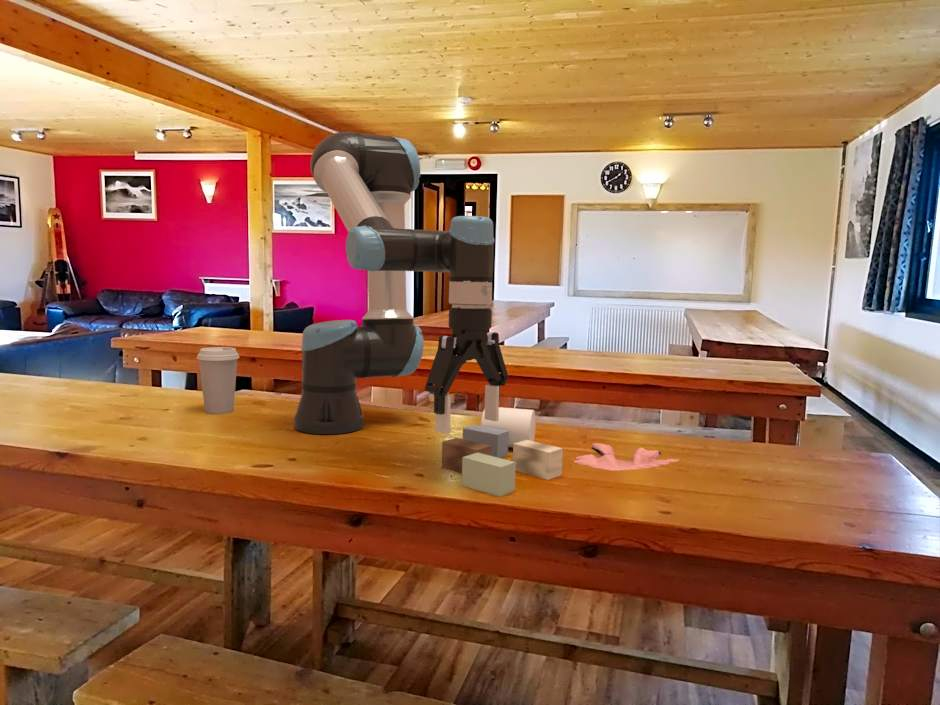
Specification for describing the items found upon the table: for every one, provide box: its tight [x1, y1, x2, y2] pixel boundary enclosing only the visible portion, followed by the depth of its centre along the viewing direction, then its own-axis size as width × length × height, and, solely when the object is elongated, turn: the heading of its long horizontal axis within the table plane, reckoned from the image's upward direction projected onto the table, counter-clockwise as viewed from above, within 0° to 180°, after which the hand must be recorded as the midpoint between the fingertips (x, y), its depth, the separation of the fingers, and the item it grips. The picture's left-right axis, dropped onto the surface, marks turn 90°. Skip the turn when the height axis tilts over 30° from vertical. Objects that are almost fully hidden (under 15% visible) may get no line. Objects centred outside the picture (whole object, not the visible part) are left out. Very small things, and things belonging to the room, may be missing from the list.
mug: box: [480, 406, 537, 449], centre depth 140 cm, size 12×10×8 cm
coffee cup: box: [196, 346, 240, 415], centre depth 162 cm, size 10×10×15 cm
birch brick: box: [512, 440, 564, 481], centre depth 122 cm, size 8×4×5 cm, turn 47°
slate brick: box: [462, 424, 509, 459], centre depth 133 cm, size 8×4×5 cm, turn 56°
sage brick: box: [461, 453, 516, 498], centre depth 112 cm, size 8×4×5 cm, turn 51°
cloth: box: [573, 442, 680, 471], centre depth 134 cm, size 20×22×2 cm
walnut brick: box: [441, 437, 491, 474], centre depth 122 cm, size 8×4×5 cm, turn 51°
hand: (468, 426), depth 121 cm, fingers open, 13 cm apart
